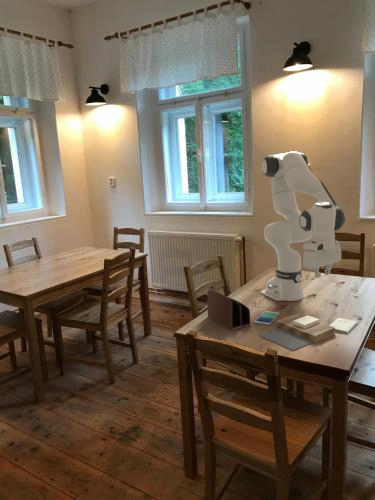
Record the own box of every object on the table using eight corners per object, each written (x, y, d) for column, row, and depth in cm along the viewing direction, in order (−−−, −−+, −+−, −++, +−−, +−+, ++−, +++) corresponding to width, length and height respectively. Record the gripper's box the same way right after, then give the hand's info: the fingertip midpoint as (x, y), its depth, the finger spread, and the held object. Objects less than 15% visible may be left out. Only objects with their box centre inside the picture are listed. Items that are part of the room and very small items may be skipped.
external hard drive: (326, 330, 166) (338, 320, 176) (347, 335, 161) (357, 324, 170) (326, 327, 166) (338, 317, 175) (347, 331, 161) (357, 321, 170)
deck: (275, 327, 171) (275, 320, 170) (295, 320, 177) (295, 313, 177) (315, 343, 155) (315, 335, 154) (334, 334, 161) (334, 327, 160)
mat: (258, 335, 164) (258, 334, 164) (277, 328, 170) (277, 327, 170) (293, 351, 149) (293, 350, 149) (312, 342, 155) (312, 341, 155)
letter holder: (231, 331, 170) (230, 299, 167) (207, 317, 187) (206, 287, 184) (250, 326, 174) (250, 294, 172) (225, 312, 192) (224, 283, 189)
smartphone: (280, 312, 186) (269, 324, 173) (280, 314, 186) (269, 326, 174) (264, 310, 190) (253, 321, 177) (264, 312, 190) (253, 323, 177)
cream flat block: (292, 324, 166) (292, 320, 166) (307, 318, 171) (307, 315, 170) (304, 328, 161) (304, 325, 161) (319, 322, 166) (319, 319, 166)
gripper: (332, 238, 173) (332, 269, 176) (300, 245, 162) (300, 279, 165) (345, 240, 168) (344, 272, 171) (313, 248, 157) (312, 282, 160)
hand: (322, 275), depth 168 cm, fingers open, 5 cm apart
